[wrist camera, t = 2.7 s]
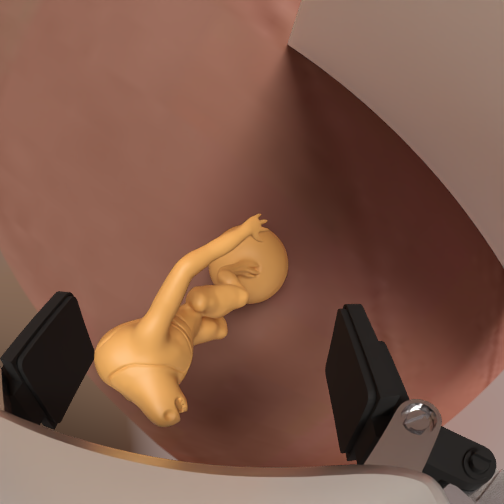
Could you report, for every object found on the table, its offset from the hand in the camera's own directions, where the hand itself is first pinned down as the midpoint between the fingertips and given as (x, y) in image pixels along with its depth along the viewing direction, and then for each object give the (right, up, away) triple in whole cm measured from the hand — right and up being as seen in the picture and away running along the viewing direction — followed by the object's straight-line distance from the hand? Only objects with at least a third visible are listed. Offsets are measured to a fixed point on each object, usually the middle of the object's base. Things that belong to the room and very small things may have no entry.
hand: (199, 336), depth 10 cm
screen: (+14, +7, +5) cm, 16 cm away
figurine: (+1, +4, +7) cm, 8 cm away
